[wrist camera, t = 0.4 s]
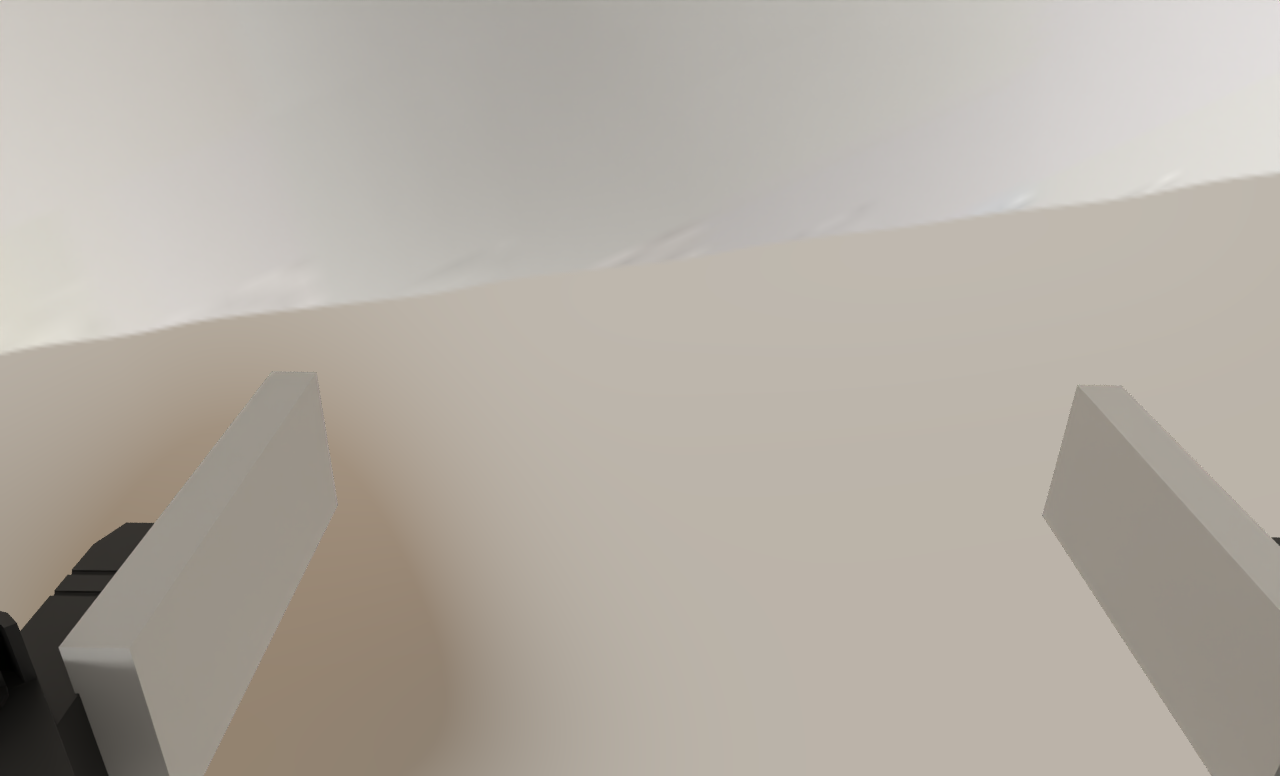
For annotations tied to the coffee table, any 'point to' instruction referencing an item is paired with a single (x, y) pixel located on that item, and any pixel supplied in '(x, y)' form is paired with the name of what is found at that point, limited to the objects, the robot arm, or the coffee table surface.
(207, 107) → the coffee table surface
